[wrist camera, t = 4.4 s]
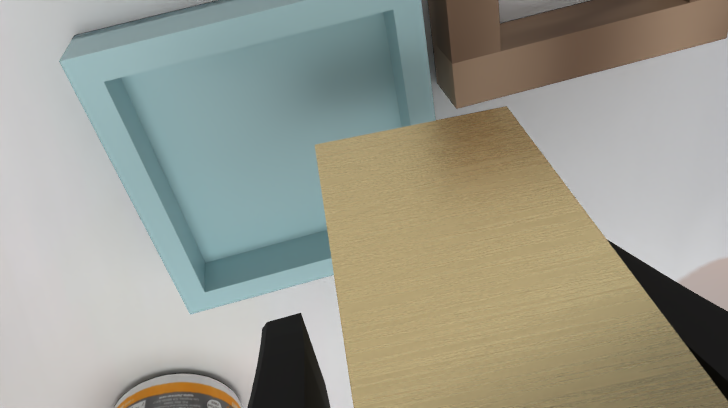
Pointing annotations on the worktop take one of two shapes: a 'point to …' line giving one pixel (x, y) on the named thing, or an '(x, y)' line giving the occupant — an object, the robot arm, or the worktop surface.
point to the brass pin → (487, 279)
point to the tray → (245, 126)
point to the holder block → (559, 41)
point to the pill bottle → (180, 393)
